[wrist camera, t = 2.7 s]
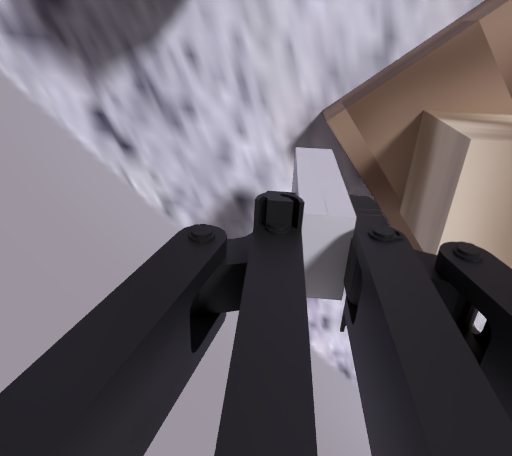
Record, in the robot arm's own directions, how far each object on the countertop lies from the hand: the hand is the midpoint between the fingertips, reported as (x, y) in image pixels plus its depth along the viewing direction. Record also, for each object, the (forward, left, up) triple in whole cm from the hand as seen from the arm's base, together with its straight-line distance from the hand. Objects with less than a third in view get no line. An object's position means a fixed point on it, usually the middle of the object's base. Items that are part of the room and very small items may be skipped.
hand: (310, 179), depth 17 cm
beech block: (+4, +6, -2) cm, 8 cm away
